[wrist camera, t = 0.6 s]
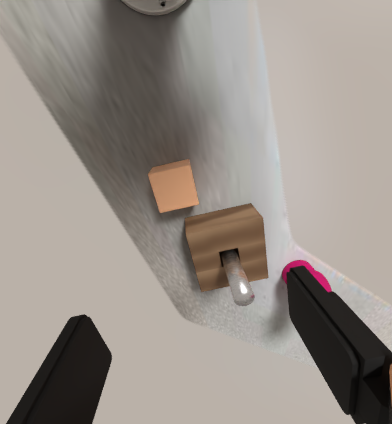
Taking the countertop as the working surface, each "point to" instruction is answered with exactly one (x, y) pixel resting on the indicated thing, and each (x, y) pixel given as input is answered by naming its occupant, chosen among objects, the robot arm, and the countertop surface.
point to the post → (237, 278)
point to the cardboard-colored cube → (173, 186)
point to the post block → (227, 244)
